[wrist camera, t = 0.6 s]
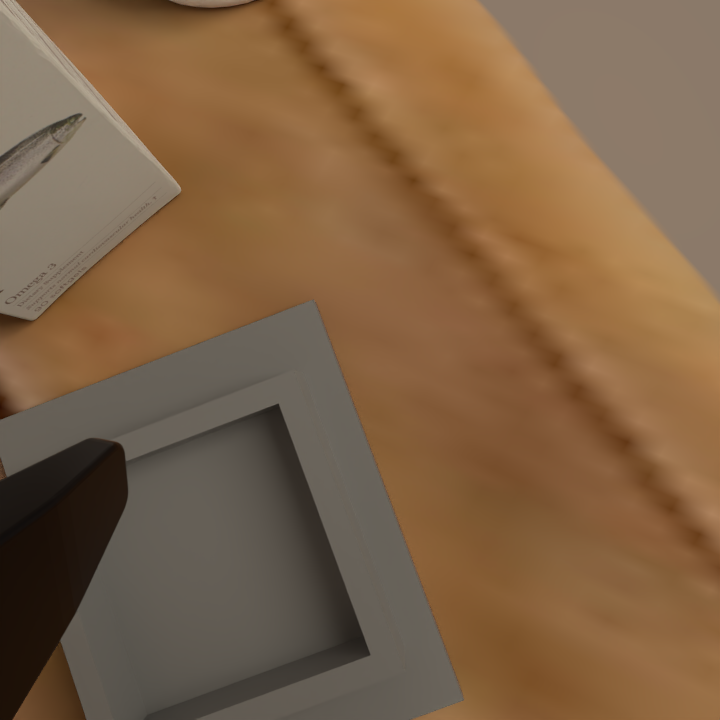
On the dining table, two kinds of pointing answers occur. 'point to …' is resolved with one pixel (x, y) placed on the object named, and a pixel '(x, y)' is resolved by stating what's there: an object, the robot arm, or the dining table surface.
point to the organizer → (243, 542)
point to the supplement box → (61, 171)
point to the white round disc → (211, 3)
